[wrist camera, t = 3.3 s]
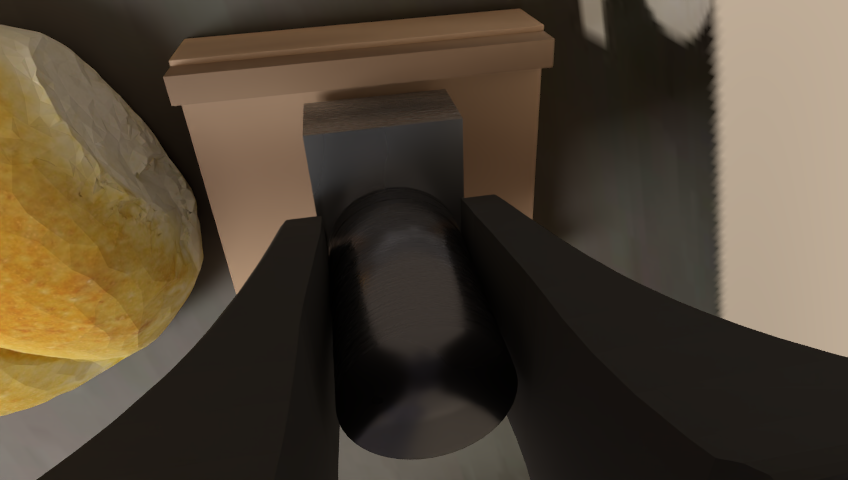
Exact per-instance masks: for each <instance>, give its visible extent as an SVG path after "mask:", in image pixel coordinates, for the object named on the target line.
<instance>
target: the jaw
mask: <svg viewBox="0 0 848 480" xmlns="http://www.w3.org/2000/svg"><path fill="white" fill-rule="evenodd" d="M303 141H304V147H305V153H306V158H307V164H308V169H309V175H310V181H311V186H312V192H313V198H314V203H315V209H316V215H317V216H322V219H323V225H324V231H325V237H326V243H327V249H328V254H329V269H330V292H331V315H332V338H333V361H334V383H335V406H336V415H337V418H338V422H339V424H340V426H341V428H342V430H343V431H344V432H345V433H346V435H347V436H348V437H349V438H350V439H351V440H352V441H353V442H354V443H356V444H357V445H359V446H360V447H362V448H364V449H366V450H368V451H370V452H372V453H375V454H378V455H381V456H385V457H389V458H396V459H426V458H433V457H438V456H442V455H446V454H449V453H453V452H455V451H458V450H461V449H463V448H465V447H467V446H469V445H471V444H473V443H475V442H477V441H478V440H480V439H482V438H483V437H485V436H486V435H487V434H489V433H490V432H491V431H492V430H493V429H494V428H496V427H497V426H498V425H499V424H500V422H501V421H502V420H503V419H504V418H505V416H506V415H507V414H508V412H509V411H510V409H511V407H512V405H513V403H514V400H515V397H516V394H517V387H518V378H517V373H516V369H515V366H514V364H513V361H512V359H511V356H510V354H509V351H508V349H507V346H506V344H505V341H504V339H503V336H502V334H501V331H500V329H499V326H498V324H497V321H496V319H495V317H494V314H493V312H492V309H491V307H490V304H489V302H488V299H487V297H486V294H485V292H484V289H483V287H482V284H481V282H480V279H479V277H478V274H477V272H476V269H475V267H474V264H473V262H472V259H471V257H470V254H469V252H468V250H467V247H466V245H465V242H464V240H463V237H462V235H461V198H464V167H463V118H462V116H461V115H460V113H459V111H458V110H457V108H456V106H455V104H454V103H453V101H452V99H451V98H450V96H449V94H448V93H447V91H446V89H440V90H431V91H421V92H412V93H402V94H392V95H383V96H373V97H364V98H354V99H344V100H335V101H325V102H316V103H306V104H304V108H303Z"/></svg>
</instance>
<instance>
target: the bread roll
mask: <svg viewBox="0 0 848 480" xmlns="http://www.w3.org/2000/svg"><path fill="white" fill-rule="evenodd" d="M203 257H204V256H203V249H202V237H201V230H200V222H199V219H198V216H197V203H196V198H195V197H194V194H193V191H192V189H191V187H190V186H189V184H188V183H187V181H186V180H185V178H184V177H183V176H182V174H181V173H180V171H179V170H178V169H177V167H176V166H175V165H174V164H173V162H172V161H171V160H170V159H169V157H168V156H167V154H166V153H165V151H164V149H163V148H162V146H161V145H160V143H159V141H158V140H157V138H156V137H155V135H154V134H153V132H152V131H151V130H150V129H149V127H148V126H147V125H146V124H145V123H144V121H143V120H142V119H141V118H140V117H139V116H138V115H137V114H136V113H135V112H134V111H133V110H132V109H131V108H130V106H129V105H128V104H127V103H126V102H125V101H124V100H123V99H122V98H121V96H120V95H119V94H117V93H116V92H115V91H114V90H113V89H112V88H111V87H110V86H109V85H108V84H107V83H106V82H105V81H104V80H103V79H102V78H101V77H100V75H99V74H98V73H97V72H96V71H95V70H94V69H93V68H92V67H90V66H89V65H88V64H87V63H85V62H84V61H83V60H82V59H81V58H80V57H79V56H78V55H76V54H75V53H74V52H73V51H72V50H71V49H70V48H68V47H67V46H65V45H63V44H61V43H60V42H58V41H56V40H54V39H52V38H50V37H48V36H46V35H44V34H42V33H40V32H36V31H31V30H26V29H21V28H15V27H10V26H5V25H0V416H3V415H7V414H10V413H13V412H17V411H20V410H24V409H28V408H31V407H34V406H36V405H39V404H42V403H44V402H47V401H49V400H50V399H52V398H54V397H56V396H57V395H60V394H62V393H65V392H68V391H71V390H73V389H75V388H77V387H78V386H80V385H82V384H84V383H85V382H87V381H88V380H90V379H92V378H93V377H95V376H97V375H98V374H100V373H102V372H103V371H105V370H107V369H109V368H110V367H112V366H113V365H115V364H116V363H118V362H119V361H121V360H122V359H124V358H126V357H128V356H129V355H131V354H133V353H135V352H137V351H139V350H141V349H143V348H144V347H146V346H148V345H149V344H150V343H152V342H153V341H154V340H156V339H157V338H158V337H159V336H160V334H161V333H162V332H163V331H164V330H165V329H166V327H167V326H168V325H169V324H170V322H171V321H172V320H173V318H174V317H175V316H176V314H177V313H178V311H179V310H180V308H181V307H182V305H183V304H184V302H185V301H186V299H187V298H188V296H189V295H190V293H191V291H192V289H193V287H194V285H195V282H196V279H197V277H198V274H199V272H200V270H201V266H202V262H203Z"/></svg>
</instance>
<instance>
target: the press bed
mask: <svg viewBox="0 0 848 480" xmlns="http://www.w3.org/2000/svg"><path fill="white" fill-rule="evenodd" d="M554 44H555V39H554V38H553V37H551V36H550V35H549V34H547V33H546V32H545V31H544V25H543V24H542V23H540V22H539V21H537V20H536V19H534V18H533V17H531V16H530V15H529V14H527V13H526V12H524V11H523V10H521V9H520V8H519V9H508V10H497V11H486V12H475V13H464V14H453V15H442V16H431V17H420V18H409V19H398V20H387V21H376V22H365V23H354V24H343V25H332V26H321V27H310V28H299V29H288V30H277V31H266V32H255V33H244V34H233V35H222V36H211V37H200V38H189V39H184V40H183V42H182V43H181V44H180V46H179V47H178V48H177V50H176V51H175V53H174V54H173V55H172V57H171V58H170V59H169V64H170V68H169V69H168V71H167V72H166V73H165V75H164V76H163V79H164V82H165V85H166V89H167V92H168V95H169V99H170V102H171V105H172V106H179V105H182V109H183V112H184V115H185V119H186V122H187V126H188V129H189V133H190V136H191V140H192V143H193V147H194V150H195V153H196V157H197V160H198V164H199V167H200V171H201V174H202V178H203V181H204V184H205V188H206V191H207V195H208V198H209V202H210V205H211V209H212V212H213V216H214V219H215V222H216V226H217V229H218V233H219V236H220V240H221V243H222V247H223V250H224V253H225V257H226V260H227V264H228V267H229V271H230V274H231V278H232V281H233V284H234V288H235V291H236V295H237V293H238V292H239V291H240V289H241V288H242V286H243V285H244V284H245V282H246V281H247V279H248V278H249V276H250V275H251V273H252V272H253V270H254V269H255V268H256V266H257V265H258V263H259V262H260V260H261V258H262V257H263V255H264V254H265V252H266V251H267V249H268V247H269V246H270V244H271V242H272V241H273V239H274V237H275V235H276V234H277V232H278V230H279V229H280V227H281V226H282V224H283V223H284V222H285V221H286V220H290V219H298V218H306V217H314V216H317V215H316V209H315V203H314V198H313V192H312V186H311V181H310V175H309V169H308V164H307V158H306V153H305V147H304V141H303V108H304V104H306V103H316V102H325V101H335V100H344V99H354V98H364V97H373V96H383V95H392V94H402V93H412V92H421V91H431V90H440V89H446V91H447V93H448V94H449V96H450V98H451V99H452V101H453V103H454V104H455V106H456V108H457V110H458V111H459V113H460V115H461V116H462V118H463V167H464V198H468V197H476V196H484V195H492V194H495V195H497V196H498V197H500V198H502V199H503V200H505V201H506V202H508V203H509V204H510V205H512V206H513V207H515V208H516V209H518V210H519V211H520V212H522V213H523V214H525V215H526V216H528V217H529V218H531V219H532V220H533V203H534V186H535V169H536V152H537V135H538V118H539V101H540V84H541V68H550V67H553V58H554Z"/></svg>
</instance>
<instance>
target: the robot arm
mask: <svg viewBox="0 0 848 480" xmlns="http://www.w3.org/2000/svg"><path fill="white" fill-rule="evenodd" d="M461 235H462V237H463V240H464V242H465V245H466V247H467V250H468V252H469V254H470V257H471V259H472V262H473V264H474V267H475V269H476V272H477V274H478V277H479V279H480V282H481V284H482V287H483V289H484V292H485V294H486V297H487V299H488V302H489V304H490V307H491V309H492V312H493V314H494V317H495V319H496V321H497V324H498V326H499V329H500V331H501V334H502V336H503V339H504V341H505V344H506V346H507V349H508V351H509V354H510V356H511V359H512V361H513V364H514V366H515V369H516V373H517V378H518V387H517V394H516V397H515V400H514V403H513V405H512V407H511V409H510V411H509V412H508V414H507V417H508V419H509V421H510V424H511V426H512V429H513V431H514V434H515V436H516V438H517V441H518V444H519V446H520V449H521V452H522V455H523V457H524V460H525V463H526V466H527V469H528V473H529V476H530V479H531V480H848V357H844V356H839V355H836V354H832V353H829V352H825V351H822V350H818V349H815V348H811V347H808V346H805V345H801V344H798V343H794V342H791V341H787V340H784V339H780V338H777V337H774V336H771V335H768V334H765V333H762V332H759V331H756V330H753V329H750V328H747V327H744V326H741V325H738V324H735V323H733V322H730V321H728V320H725V319H722V318H720V317H717V316H714V315H711V314H709V313H706V312H703V311H701V310H698V309H696V308H693V307H691V306H688V305H686V304H683V303H681V302H679V301H676V300H674V299H672V298H670V297H667V296H665V295H663V294H661V293H659V292H657V291H654V290H652V289H650V288H648V287H646V286H644V285H641V284H639V283H637V282H635V281H633V280H631V279H629V278H627V277H625V276H623V275H621V274H620V273H618V272H616V271H614V270H612V269H610V268H609V267H607V266H605V265H603V264H602V263H600V262H598V261H596V260H595V259H593V258H591V257H589V256H588V255H586V254H584V253H583V252H581V251H579V250H578V249H576V248H574V247H573V246H571V245H570V244H568V243H566V242H565V241H563V240H562V239H560V238H559V237H557V236H556V235H554V234H553V233H551V232H550V231H548V230H547V229H545V228H544V227H542V226H541V225H539V224H538V223H536V222H535V221H533V220H532V219H531V218H529V217H528V216H526V215H525V214H523V213H522V212H520V211H519V210H518V209H516V208H515V207H513V206H512V205H510V204H509V203H508V202H506V201H505V200H503V199H502V198H500V197H498V196H497V195H495V194H492V195H484V196H476V197H468V198H461ZM339 427H340V424H339V422H338V418H337V415H336V406H335V383H334V361H333V338H332V315H331V292H330V269H329V254H328V249H327V243H326V237H325V231H324V225H323V219H322V216H314V217H306V218H298V219H290V220H286V221H285V222H284V223H283V224H282V226H281V227H280V229H279V230H278V232H277V234H276V235H275V237H274V239H273V241H272V242H271V244H270V246H269V247H268V249H267V251H266V252H265V254H264V255H263V257H262V258H261V260H260V262H259V263H258V265H257V266H256V268H255V269H254V270H253V272H252V273H251V275H250V276H249V278H248V279H247V281H246V282H245V284H244V285H243V286H242V288H241V289H240V291H239V292H238V293H237V295H236V296H235V298H234V299H233V300H232V301H231V303H230V304H229V305H228V306H227V308H226V309H225V310H224V311H223V313H222V314H221V315H220V316H219V318H218V319H217V320H216V322H215V323H214V324H213V325H212V327H211V328H210V329H209V330H208V331H207V333H206V334H205V335H204V336H203V337H202V338H201V339H200V340H199V342H198V343H197V344H196V345H195V346H194V347H193V348H192V349H191V350H190V352H189V353H188V354H187V355H186V356H185V357H184V358H183V359H182V360H181V361H180V362H179V363H178V364H177V365H176V366H175V367H174V368H173V369H172V370H171V371H170V372H169V373H168V374H167V375H166V376H165V377H163V378H162V379H161V380H160V381H159V382H158V383H157V384H156V385H154V386H153V387H152V388H151V389H150V390H149V391H148V392H146V393H145V394H144V395H143V396H142V397H141V398H140V399H138V400H137V401H136V402H135V403H134V404H133V405H132V406H131V407H129V408H128V409H127V410H126V411H125V412H124V413H123V414H121V415H120V416H119V417H118V418H117V419H116V420H115V421H113V422H112V423H111V424H110V425H108V426H107V427H106V428H105V429H103V430H102V431H101V432H100V433H98V434H97V435H96V436H94V437H93V438H92V439H91V440H89V441H88V442H87V443H86V444H84V445H83V446H82V447H80V448H79V449H78V450H77V451H75V452H74V453H72V454H71V455H70V456H68V457H67V458H66V459H64V460H63V461H62V462H60V463H59V464H58V465H56V466H55V467H53V468H52V469H51V470H49V471H48V472H47V473H45V474H44V475H43V476H41V477H40V478H38V479H37V480H338V456H339Z"/></svg>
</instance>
